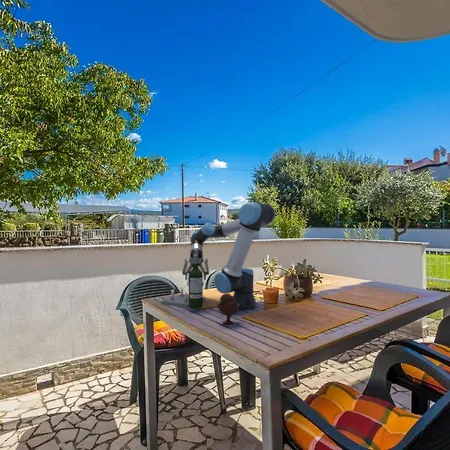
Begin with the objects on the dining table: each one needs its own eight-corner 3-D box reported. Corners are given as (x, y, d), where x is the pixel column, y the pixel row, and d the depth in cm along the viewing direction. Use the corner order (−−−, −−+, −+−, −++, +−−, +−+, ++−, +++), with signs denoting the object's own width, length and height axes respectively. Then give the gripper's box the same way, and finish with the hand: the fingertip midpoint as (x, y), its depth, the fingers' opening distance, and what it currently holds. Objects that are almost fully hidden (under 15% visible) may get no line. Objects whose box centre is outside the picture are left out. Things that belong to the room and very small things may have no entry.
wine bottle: (190, 309, 159) (190, 254, 160) (186, 306, 166) (186, 253, 167) (204, 308, 162) (204, 254, 163) (200, 304, 170) (200, 253, 170)
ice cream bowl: (237, 328, 136) (238, 296, 136) (214, 326, 138) (215, 295, 138) (241, 321, 146) (241, 291, 147) (219, 319, 149) (219, 290, 149)
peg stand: (205, 300, 188) (205, 288, 188) (188, 308, 170) (188, 294, 170) (180, 297, 196) (180, 285, 197) (161, 303, 179) (161, 290, 179)
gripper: (213, 256, 180) (213, 287, 164) (179, 256, 179) (176, 288, 163) (213, 248, 175) (214, 280, 159) (179, 248, 174) (175, 280, 158)
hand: (195, 284), depth 161 cm, fingers closed on wine bottle, 8 cm apart
